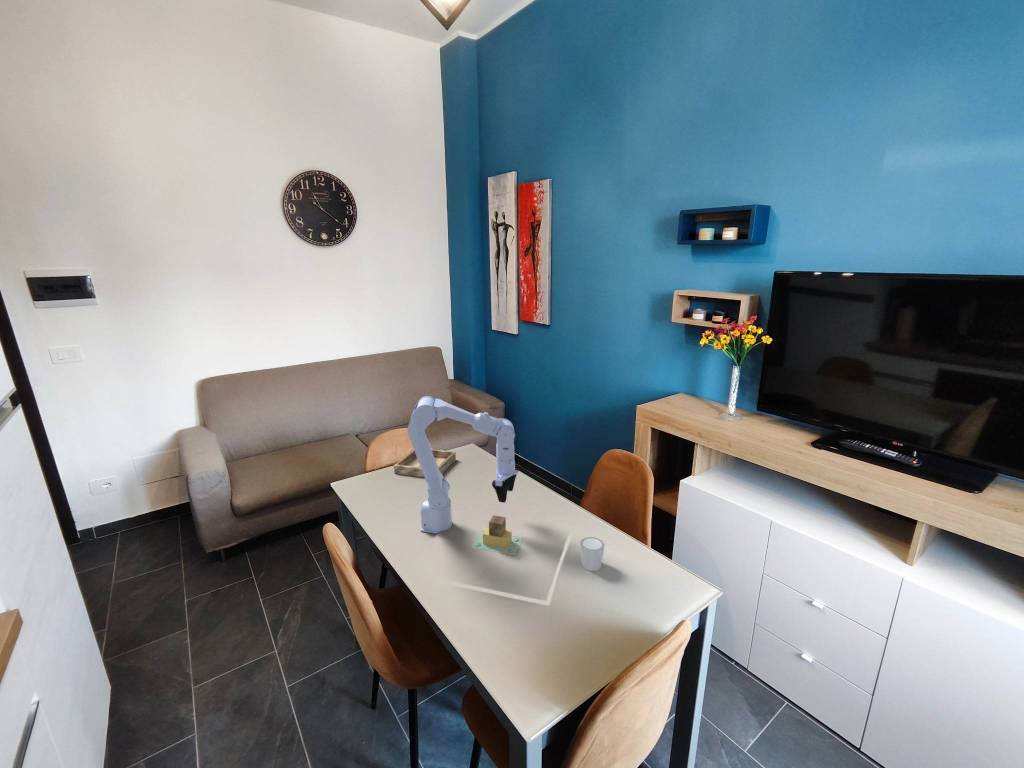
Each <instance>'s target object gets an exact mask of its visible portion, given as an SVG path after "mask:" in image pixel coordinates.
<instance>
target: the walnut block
mask: <svg viewBox="0 0 1024 768" xmlns="http://www.w3.org/2000/svg"><path fill="white" fill-rule="evenodd" d="M506 524H507V523H506V516H499V515H495V514H493V515H492V517H490V520H489V521H488V527H489V535H490V536H496V537H502V536H503V534H504V532H505V531H506V530H507V529H506V528H507V527H506V526H507V525H506Z"/></svg>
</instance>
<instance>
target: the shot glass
mask: <svg viewBox="0 0 1024 768" xmlns="http://www.w3.org/2000/svg"><path fill="white" fill-rule="evenodd" d="M579 546H580V547H579V548H580V562H581V567H582V568H583V569H585V571H586V570H587V571H590V572H596V571H598V570H600V569H601V567H602V563H603V562H602V561H603V557H604V550H605V543H604V541H603V540H602V539H600V538H599V537H595V536H587V537H584V538H581V540H580V542H579Z"/></svg>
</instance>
